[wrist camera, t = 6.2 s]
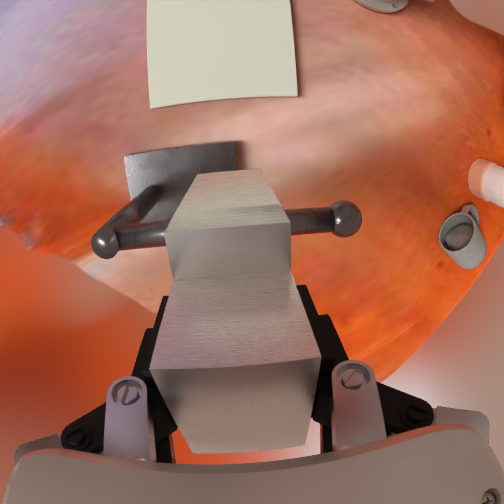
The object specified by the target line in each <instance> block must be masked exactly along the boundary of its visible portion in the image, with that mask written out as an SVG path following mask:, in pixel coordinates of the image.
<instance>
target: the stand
mask: <svg viewBox="0 0 504 504" xmlns="http://www.w3.org/2000/svg"><path fill="white" fill-rule="evenodd" d="M124 161H125V168H126V175H127V181H128V188H129V194H130V199H131V201H130V202H129V203H128V204H126V205H125V206H124V207H123V208H122V209H121V210H120V211H119V212H117V213H116V214H115V215H114V216H113V217H112V218H111V219H110V220H109V221H108V222H106V223H105V224H104V225H103V226H102V227H101V228H100V229H99V230H98V231H97V232H96V233H95V234H94V235H93V237H92V239H91V246H92V249H93V251H94V252H95V254H96V255H98V256H99V257H101V258H103V259H110V258H113V257H114V256H115V255H116V253H117V252H118V251H120V250H130V249H141V248H151V247H161V246H166V241H165V236H164V232H165V230H166V228H167V227H168V225H169V223H170V221H171V219H172V218H173V216H174V214H175V212H176V210H177V209H178V207H179V205H180V203H181V202H182V200H183V198H184V196H185V195H186V193H187V191H188V189H189V188H190V186H191V184H192V183H193V181H194V179H195V178H196V176H197V174H204V173H214V172H225V171H237V167H236V153H235V141H230V142H218V143H208V144H199V145H190V146H182V147H175V148H168V149H161V150H155V151H148V152H142V153H137V154H131V155H127V156H124ZM284 211H285V213H286V215H287V217H288V219H289V220H290V222H291V235H301V234H314V233H327V232H332V233H333V234H334V235H336V236H338V237H350V236H352V235H354V234H355V233H356V232H357V231H358V230H359V228H360V226H361V223H362V215H361V212H360V210H359V208H358V207H357V206H356V205H355V204H354V203H352V202H350V201H347V200H340V201H336V202H334V203H333V204H332V205H331V206H330V207H320V208H302V209H286V210H284Z"/></svg>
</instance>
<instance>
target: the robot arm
mask: <svg viewBox="0 0 504 504" xmlns="http://www.w3.org/2000/svg"><path fill="white" fill-rule="evenodd" d="M354 1H355V2H357V3H358V4H360V5H362V6H364V7H366V8H368V9H370V10H373V11H376V12H381V13H393V12H397V11H399V10H401V9H403V8H404V7H405V6H406V5H407V4H408V1H409V0H354ZM425 1H428V2H430V3H432V2H434V0H425ZM296 287H297V290H298V292H299V295H300V298H301V301H302V303H303V306H304V309H305V312H306V314H307V317H308V320H309V323H310V326H311V328H312V331H313V334H314V337H315V340H316V343H317V346H318V348H319V351H320V354H321V362H320V368H319V374H318V380H317V386H316V392H315V397H314V403H313V408H312V413H311V418H313V420H314V421H316V422H318V423H320V451H321V452H320V454H318V455H312V456H306V457H300V458H294V459H287V460H279V461H269V462H260V463H246V464H222V465H195V464H176V459H175V451H174V444H173V436H172V433H173V432H174V431H176V430H177V427H178V426H177V424H176V422H175V421H174V419H173V417H172V415H171V413H170V411H169V409H168V407H167V405H166V403H165V401H164V399H163V397H162V395H161V393H160V391H159V389H158V387H157V385H156V383H155V380H154V378H153V376H152V374H151V372H150V369H149V367H150V363H151V359H152V355H153V352H154V348H155V344H156V340H157V336H158V333H159V329H160V325H161V322H162V318H163V315H164V311H165V308H166V304H167V301H168V297H169V296H163V298H162V301H161V305H160V308H159V311H158V314H157V317H156V321H155V324H154V327H153V328H148V329H146V331H145V334H144V336H143V340H142V343H141V346H140V349H139V353H138V356H137V359H136V362H135V366H134V369H133V372H132V376H126V377H122V378H120V379H118V380H116V381H115V382H114V383H112V385H111V386H110V387H109V389H108V393H107V402H105V403H104V404H103V405H101V406H99V407H97V408H96V409H94V410H92V411H91V412H89V413H87V414H86V415H84V416H82V417H81V418H79V419H77V420H76V421H74V422H72V423H70V424H69V425H68V426H66V427H65V429H64V430H63V431H62V434H61V435H58V434H57V433H55V434H52V435H50V436H46V437H43V438H40V439H37V440H34V441H31V442H27V443H24V444H22V445H20V446H19V447H18V448H17V449H16V451H15V454H14V460H15V467H14V470H13V472H12V474H11V477H10V480H9V482H8V485H7V489H6V492H5V496H4V500H3V504H504V471H503V469H502V467H501V465H500V463H499V461H498V459H497V457H496V455H495V454H494V452H493V450H492V449H491V447H490V446H489V421H488V419H487V417H486V416H485V415H484V414H483V413H481V412H477V411H470V410H461V409H454V408H447V407H441V406H438V407H437V408H436V409H435V408H432V407H431V405H430V404H429V403H427V402H426V401H424V400H422V399H420V398H417V397H415V396H412V395H409V394H407V393H404V392H402V391H399V390H396V389H394V388H391V387H389V386H386V385H384V384H381V383H379V382H377V381H376V379H375V375H374V372H373V370H372V369H371V368H370V367H369V365H367V364H365V363H364V362H361V361H357V360H349V359H348V357H347V354H346V352H345V350H344V348H343V345H342V343H341V341H340V338H339V336H338V334H337V332H336V329H335V327H334V325H333V323H332V320H331V318H330V316H329V315H328V314H326V315H318V313H317V311H316V308H315V306H314V303H313V301H312V299H311V296H310V294H309V291H308V289H307V287H306V285H297V286H296Z"/></svg>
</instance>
